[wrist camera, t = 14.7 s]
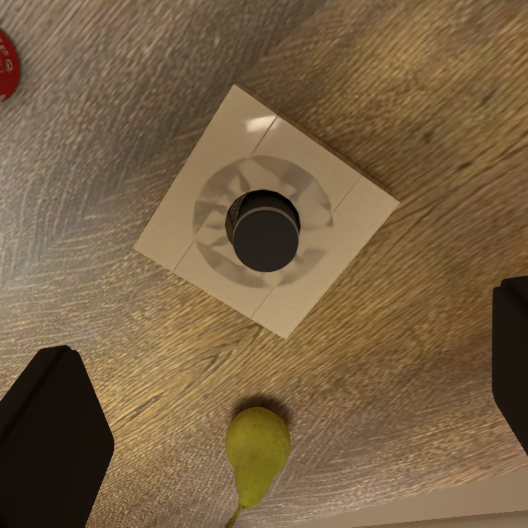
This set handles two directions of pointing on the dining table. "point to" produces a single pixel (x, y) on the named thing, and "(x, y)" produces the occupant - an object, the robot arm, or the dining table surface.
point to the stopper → (266, 231)
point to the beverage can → (8, 68)
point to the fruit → (256, 453)
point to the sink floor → (274, 179)
